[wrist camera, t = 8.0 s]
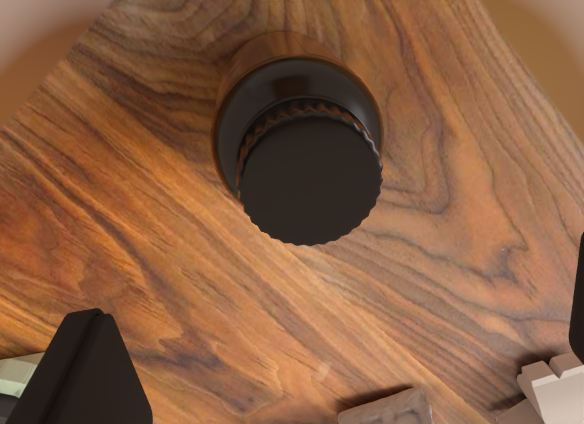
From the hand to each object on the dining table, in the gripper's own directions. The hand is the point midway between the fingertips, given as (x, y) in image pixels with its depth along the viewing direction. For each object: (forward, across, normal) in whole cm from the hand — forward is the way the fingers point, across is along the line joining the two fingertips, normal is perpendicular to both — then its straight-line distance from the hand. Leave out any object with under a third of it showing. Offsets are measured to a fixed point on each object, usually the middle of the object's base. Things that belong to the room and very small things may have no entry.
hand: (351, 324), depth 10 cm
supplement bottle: (+19, 0, 0) cm, 19 cm away
